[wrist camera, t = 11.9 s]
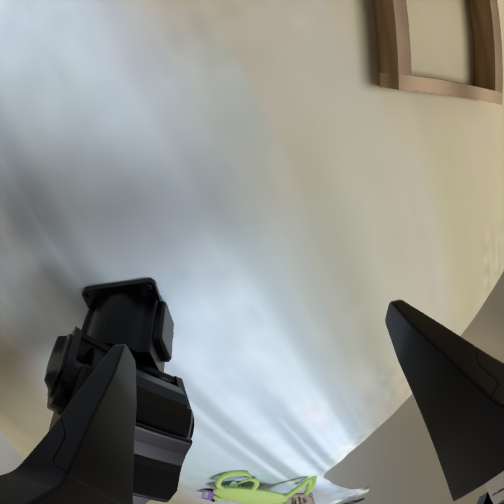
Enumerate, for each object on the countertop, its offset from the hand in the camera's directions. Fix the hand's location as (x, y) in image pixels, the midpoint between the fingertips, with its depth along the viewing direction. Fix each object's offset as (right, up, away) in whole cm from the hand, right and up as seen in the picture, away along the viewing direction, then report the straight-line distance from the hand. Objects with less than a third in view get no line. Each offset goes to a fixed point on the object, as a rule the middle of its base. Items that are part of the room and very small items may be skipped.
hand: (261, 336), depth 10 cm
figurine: (+1, -48, +46) cm, 67 cm away
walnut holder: (+13, +19, +6) cm, 24 cm away
